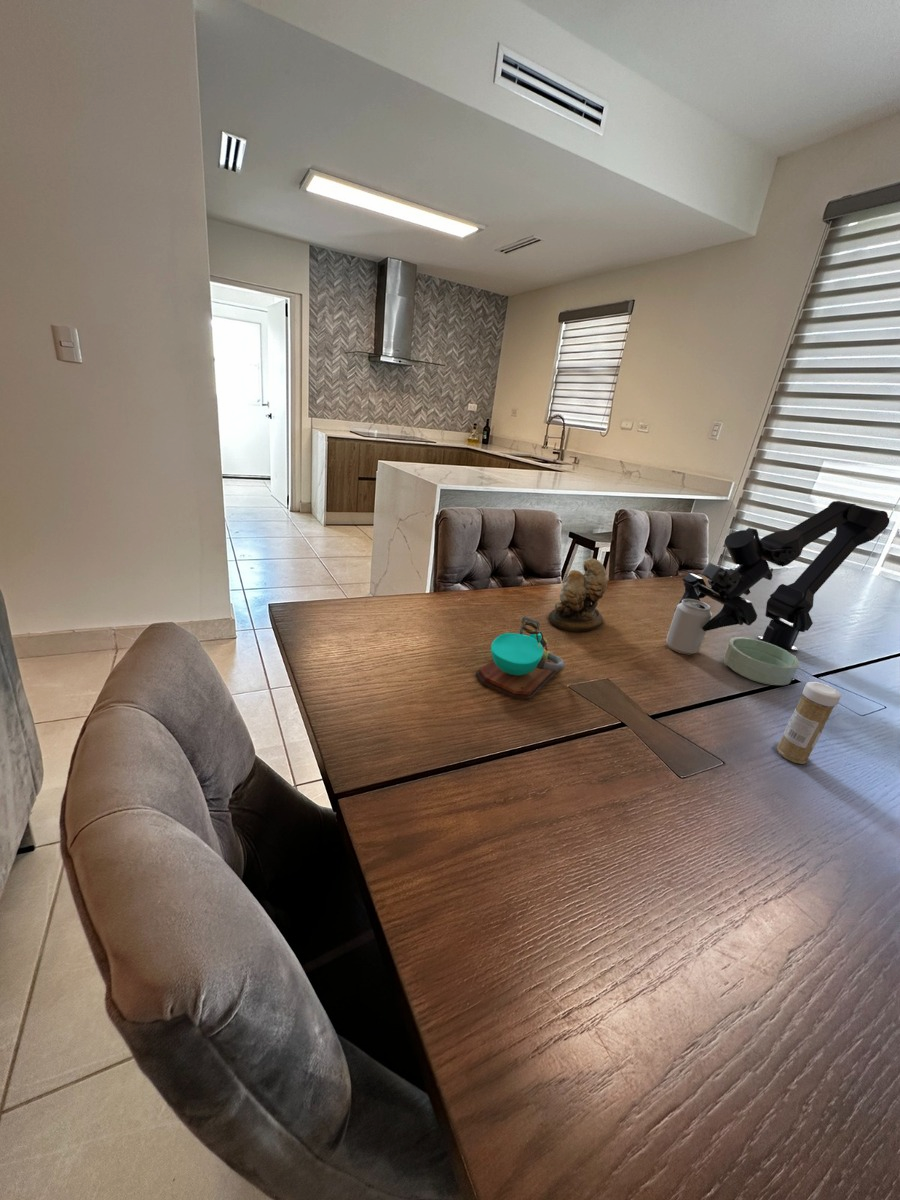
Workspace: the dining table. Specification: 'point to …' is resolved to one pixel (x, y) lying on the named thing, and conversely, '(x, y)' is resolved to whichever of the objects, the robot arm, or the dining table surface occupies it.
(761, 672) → the basin
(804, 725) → the sprinkles bottle
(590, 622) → the owl figurine
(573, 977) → the dining table surface
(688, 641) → the can
